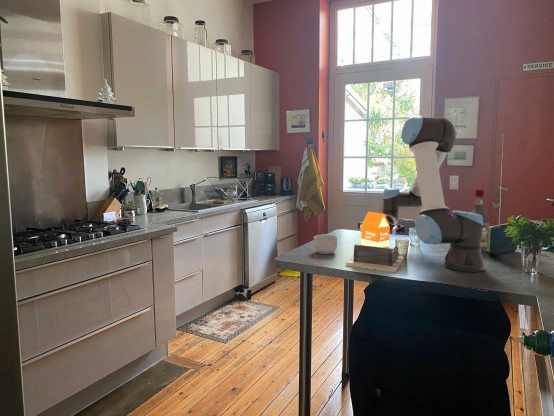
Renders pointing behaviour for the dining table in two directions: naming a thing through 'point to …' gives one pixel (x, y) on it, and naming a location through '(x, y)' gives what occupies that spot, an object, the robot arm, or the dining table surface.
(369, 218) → the orange juice
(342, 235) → the dining table surface
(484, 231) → the liquor
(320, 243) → the teacup
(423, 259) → the dining table surface
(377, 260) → the keeper cradle
